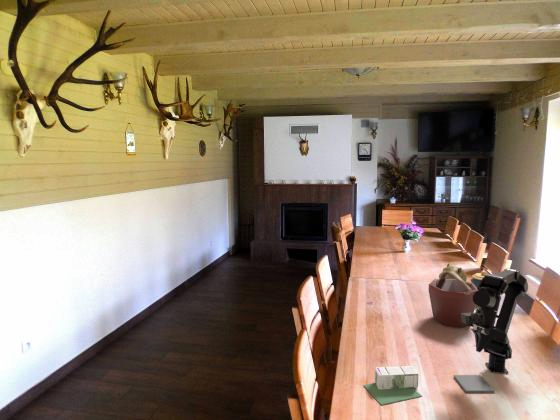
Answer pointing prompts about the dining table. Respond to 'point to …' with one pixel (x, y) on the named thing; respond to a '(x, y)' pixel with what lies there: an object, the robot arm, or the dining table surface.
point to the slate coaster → (473, 384)
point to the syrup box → (396, 377)
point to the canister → (477, 278)
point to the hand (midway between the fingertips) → (478, 351)
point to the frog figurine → (456, 270)
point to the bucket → (451, 299)
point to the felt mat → (391, 394)
